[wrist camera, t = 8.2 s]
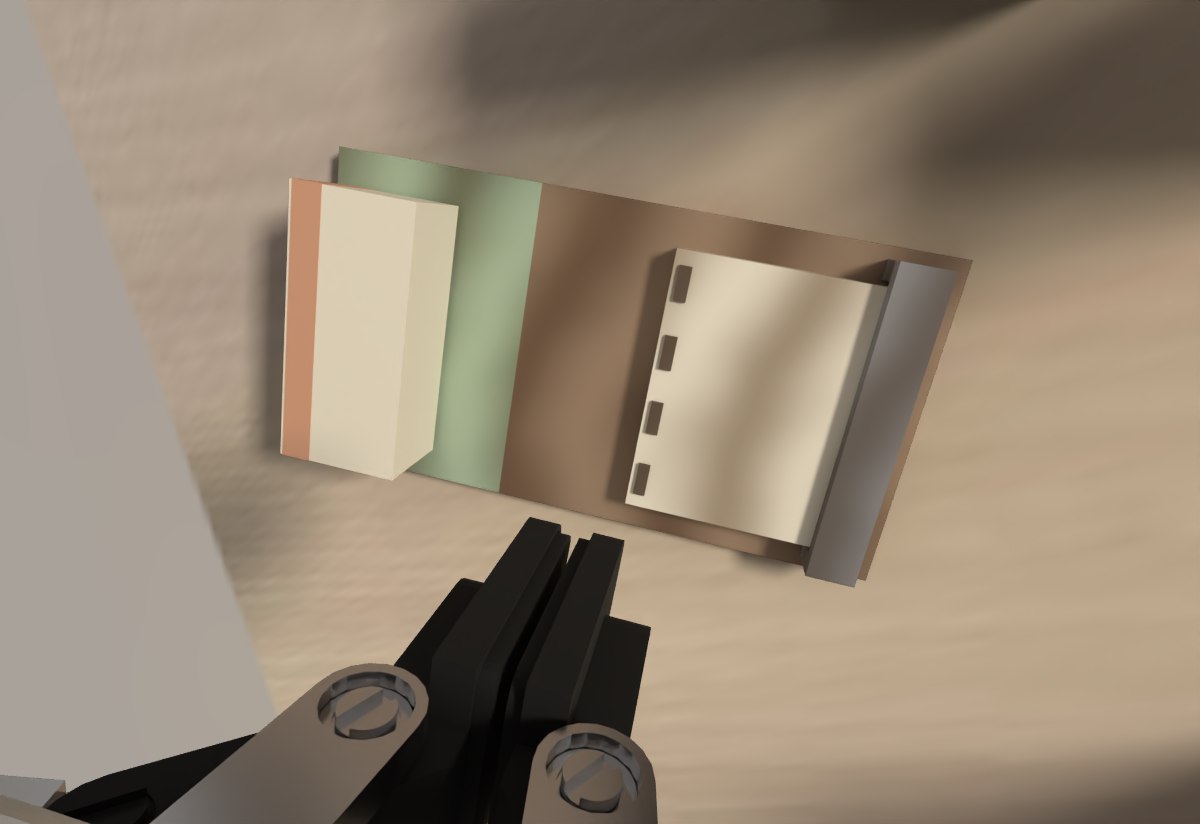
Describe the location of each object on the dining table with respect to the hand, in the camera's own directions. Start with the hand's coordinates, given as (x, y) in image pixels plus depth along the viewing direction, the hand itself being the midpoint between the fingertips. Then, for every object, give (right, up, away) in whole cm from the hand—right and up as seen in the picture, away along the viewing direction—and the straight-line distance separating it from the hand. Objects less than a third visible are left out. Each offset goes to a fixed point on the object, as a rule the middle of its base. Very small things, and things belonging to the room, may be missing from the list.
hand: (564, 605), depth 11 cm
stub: (-9, +7, +18) cm, 21 cm away
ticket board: (+1, +5, +18) cm, 19 cm away
